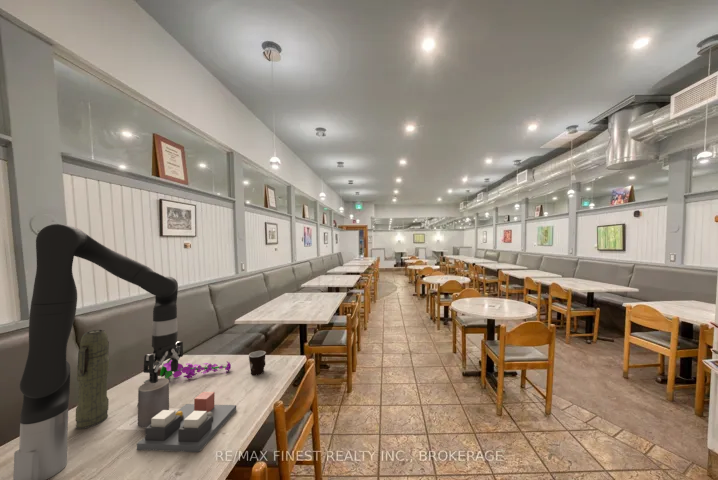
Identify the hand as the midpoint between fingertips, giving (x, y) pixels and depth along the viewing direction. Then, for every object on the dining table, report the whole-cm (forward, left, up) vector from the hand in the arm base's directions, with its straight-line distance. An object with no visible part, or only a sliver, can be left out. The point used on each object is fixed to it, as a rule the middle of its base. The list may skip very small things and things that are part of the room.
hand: (164, 376), depth 92 cm
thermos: (+6, +35, -21) cm, 42 cm away
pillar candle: (+8, +11, -21) cm, 25 cm away
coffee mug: (+46, -13, -21) cm, 52 cm away
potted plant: (+43, +21, -21) cm, 53 cm away
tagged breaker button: (-2, -2, -16) cm, 16 cm away
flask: (+18, +23, -21) cm, 36 cm away
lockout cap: (+11, -8, -19) cm, 23 cm away
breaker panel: (+4, -8, -21) cm, 22 cm away
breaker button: (-2, -14, -16) cm, 21 cm away
